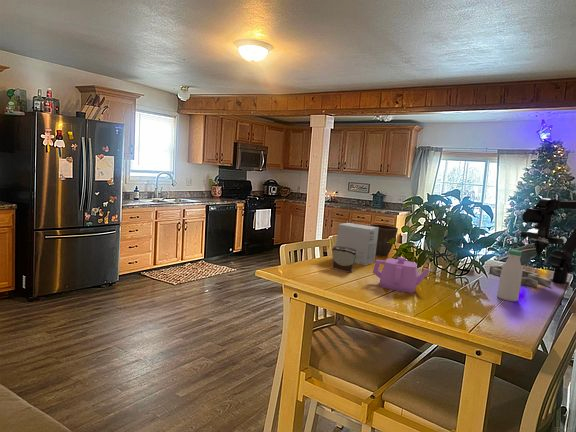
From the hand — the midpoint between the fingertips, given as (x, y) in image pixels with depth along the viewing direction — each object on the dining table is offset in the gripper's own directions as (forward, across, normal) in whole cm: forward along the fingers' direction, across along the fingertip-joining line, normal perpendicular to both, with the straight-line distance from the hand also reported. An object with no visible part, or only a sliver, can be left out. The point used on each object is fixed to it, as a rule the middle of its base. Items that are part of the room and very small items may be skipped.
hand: (538, 254), depth 207 cm
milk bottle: (+13, +21, -47) cm, 53 cm away
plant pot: (+13, -54, -54) cm, 77 cm away
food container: (+13, -26, -95) cm, 99 cm away
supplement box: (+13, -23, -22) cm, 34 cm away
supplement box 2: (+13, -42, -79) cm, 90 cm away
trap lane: (+13, -3, -8) cm, 16 cm away
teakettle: (+13, +1, -86) cm, 87 cm away
